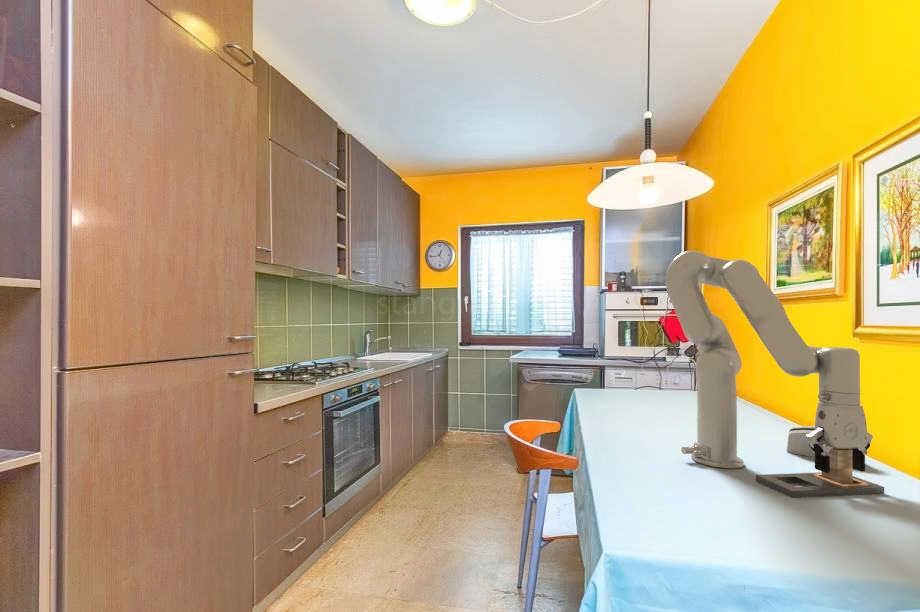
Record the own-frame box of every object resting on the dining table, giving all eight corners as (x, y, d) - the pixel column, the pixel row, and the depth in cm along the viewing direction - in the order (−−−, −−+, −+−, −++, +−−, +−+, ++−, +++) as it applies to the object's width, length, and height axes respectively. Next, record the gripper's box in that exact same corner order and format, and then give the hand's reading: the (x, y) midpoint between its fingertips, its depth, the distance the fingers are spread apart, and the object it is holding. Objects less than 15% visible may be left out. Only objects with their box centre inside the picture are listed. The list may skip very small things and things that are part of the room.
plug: (837, 488, 102) (837, 450, 103) (821, 482, 106) (821, 445, 107) (852, 488, 103) (852, 450, 103) (835, 481, 107) (835, 445, 107)
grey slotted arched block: (861, 461, 123) (860, 430, 121) (861, 471, 120) (860, 439, 117) (788, 448, 135) (786, 419, 132) (786, 456, 131) (784, 427, 129)
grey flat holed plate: (792, 497, 96) (792, 490, 97) (755, 481, 106) (755, 474, 106) (884, 493, 100) (884, 486, 100) (840, 477, 110) (840, 470, 110)
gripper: (822, 402, 100) (823, 477, 99) (886, 401, 102) (887, 474, 101) (793, 396, 107) (793, 466, 107) (853, 395, 109) (854, 464, 109)
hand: (839, 470), depth 104 cm, fingers open, 9 cm apart
